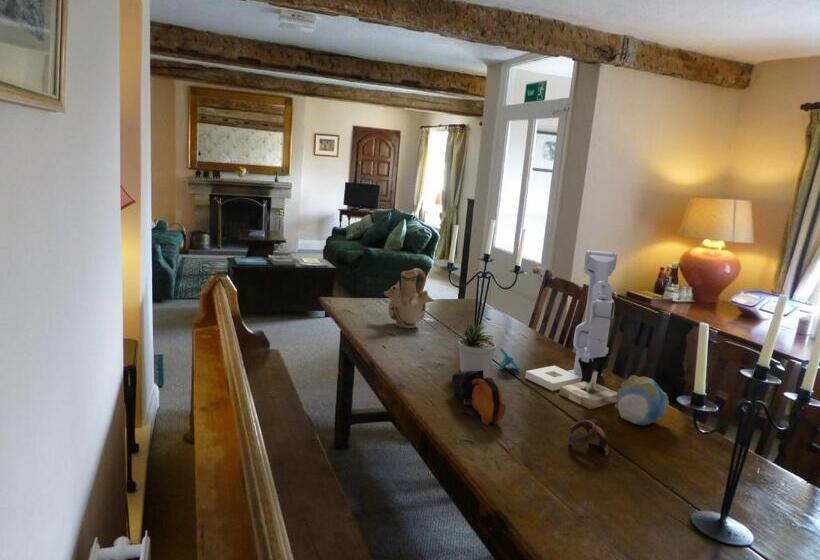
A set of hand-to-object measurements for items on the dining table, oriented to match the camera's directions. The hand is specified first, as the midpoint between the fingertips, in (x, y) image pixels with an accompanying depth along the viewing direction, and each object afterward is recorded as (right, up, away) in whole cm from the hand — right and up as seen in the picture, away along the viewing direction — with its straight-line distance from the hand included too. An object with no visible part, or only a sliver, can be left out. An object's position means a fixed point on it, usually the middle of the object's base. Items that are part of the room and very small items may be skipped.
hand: (591, 378), depth 175 cm
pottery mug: (-11, -12, -32) cm, 36 cm away
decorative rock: (+9, -10, -13) cm, 18 cm away
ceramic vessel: (-60, +11, +65) cm, 89 cm away
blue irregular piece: (-22, -1, +21) cm, 31 cm away
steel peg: (-1, -6, +1) cm, 6 cm away
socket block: (-9, -3, +13) cm, 16 cm away
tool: (-38, -6, -14) cm, 41 cm away
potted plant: (-36, -1, +13) cm, 38 cm away
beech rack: (0, -6, +1) cm, 6 cm away
